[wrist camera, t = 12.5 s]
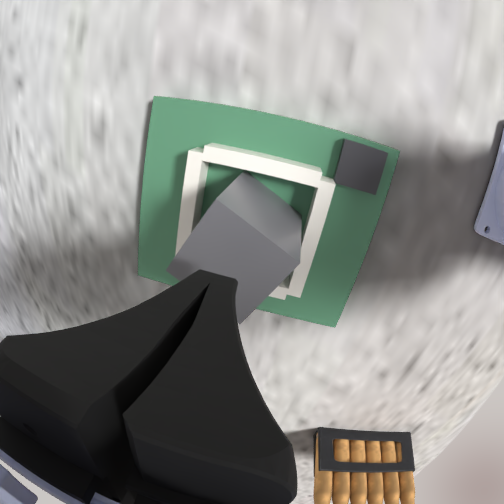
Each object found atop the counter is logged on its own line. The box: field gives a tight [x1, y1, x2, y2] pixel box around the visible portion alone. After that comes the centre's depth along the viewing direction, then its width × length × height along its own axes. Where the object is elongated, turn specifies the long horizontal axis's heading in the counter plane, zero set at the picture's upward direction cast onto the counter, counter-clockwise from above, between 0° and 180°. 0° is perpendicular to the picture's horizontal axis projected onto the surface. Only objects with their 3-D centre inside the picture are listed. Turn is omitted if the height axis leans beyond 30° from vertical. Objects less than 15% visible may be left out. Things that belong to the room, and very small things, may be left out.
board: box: [138, 96, 400, 327], centre depth 18 cm, size 14×12×2 cm
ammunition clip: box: [314, 427, 415, 504], centre depth 21 cm, size 11×2×12 cm, turn 82°
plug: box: [166, 170, 302, 324], centre depth 15 cm, size 4×5×6 cm
